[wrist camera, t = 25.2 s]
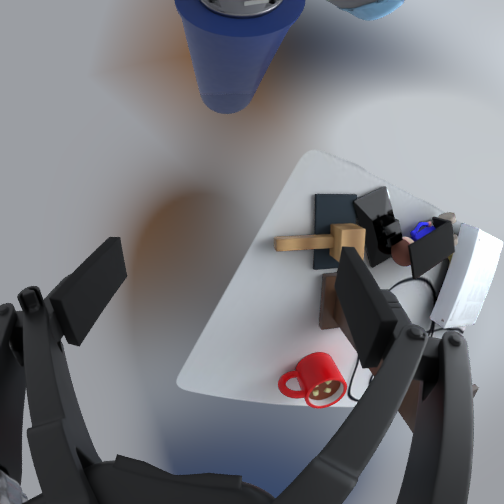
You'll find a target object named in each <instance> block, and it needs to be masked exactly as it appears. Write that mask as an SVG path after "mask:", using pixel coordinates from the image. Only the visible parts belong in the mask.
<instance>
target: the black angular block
mask: <svg viewBox="0 0 504 504" xmlns="http://www.w3.org/2000/svg"><path fill="white" fill-rule="evenodd" d="M353 206H354V209H355V212H356V215H357V219H358V222H359V225H360V227H362V228H364V229H366V231H365V247H366V250H367V254H368V258H369V262H370V266H371V267H372V268H373V267H375V266H376V265H378V264H380V263H382V262H383V261H385V260H387V259H388V258H390V257H392V255H391V248H392V246H393V245H395V244H397V243H398V242H400V241H402V240H403V238H402V234H401V229H400V224H399V220H397V219H395V217H394V214H393V210H392V206H391V203H390V197H389V193H388V190H387V188H386V187H385V186H384V187H382V188H380V189H377V190H375V191H373V192H371V193H369V194H367V195H365V196H363V197H360V198H358V199H356V200H354V201H353Z"/></svg>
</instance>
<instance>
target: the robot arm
mask: <svg viewBox="0 0 504 504" xmlns="http://www.w3.org/2000/svg"><path fill="white" fill-rule="evenodd" d="M282 1H283V0H199V2H200V3H201V4H202V5H203V6H204V7H205V8H206V9H207V10H209V11H210V12H212V13H214V14H217V15H219V16H222V17H226V18H232V19H252V18H258V17H261V16H264V15H267V14H269V13H271V12H273V11H274V10H275V9H277V8H278V7H279V6H280V4H281V3H282ZM327 1H328V2H330V3H332V4H334V5H336V6H337V7H338V8H339V9H341V10H344V11H347V12H349V13H351V14H352V15H354V16H356V17H358V18H360V19H363V20H376V19H379V18H382V17H384V16H386V15H388V14H390V13H391V12H392V11H394V10H396V9H397V8H399V7H400V6H401V5H402V4H403V2H404V0H327ZM126 277H127V273H126V268H125V262H124V257H123V252H122V247H121V240H120V237H109V238H108V239H107V240H106V241H105V242H104V243H103V244H102V245H101V246H99V247H98V248H97V249H96V251H94V252H93V253H92V254H91V255H90V256H89V257H88V258H87V259H86V260H85V261H84V262H83V263H82V264H81V265H80V266H79V267H78V268H77V269H76V270H75V271H74V272H73V273H72V274H70V275H68V276H67V277H65V278H64V279H63V280H62V281H61V282H60V283H59V285H57V286H56V287H55V289H53V290H52V291H51V292H50V293H49V294H48V296H47V297H46V298H45V299H44V300H43V297H42V295H41V292H40V289H39V288H38V287H37V286H31V287H27V288H25V289H24V290H22V291H21V292H20V293H19V294H18V296H17V298H18V301H19V303H20V305H21V308H22V310H23V311H15V308H14V306H13V304H11V303H6V304H2V305H1V306H0V504H342V503H343V502H344V500H345V499H346V498H347V496H348V495H349V494H350V492H351V491H352V490H353V488H354V487H355V485H356V483H357V481H358V477H359V476H360V474H361V473H362V471H363V470H364V468H365V467H366V465H367V464H368V462H369V460H370V459H371V457H372V456H373V454H374V452H375V451H376V449H377V447H378V446H379V444H380V442H381V441H382V439H383V437H384V435H385V433H386V432H387V430H388V428H389V427H390V425H391V423H392V421H393V419H394V417H395V415H396V413H397V411H398V409H399V407H400V405H401V403H402V401H403V399H404V397H405V395H406V393H407V390H408V388H409V386H410V384H411V382H412V380H418V381H420V385H419V395H418V404H417V412H416V419H415V426H414V432H413V437H412V443H411V448H410V453H409V458H408V462H407V466H406V470H405V475H404V479H403V482H402V486H401V489H400V493H399V496H398V499H397V503H396V504H467V499H468V494H469V487H470V479H471V469H472V457H473V439H474V437H473V436H474V411H473V390H472V378H471V368H470V360H469V352H468V345H467V341H466V339H465V338H464V337H463V336H462V335H461V334H460V333H458V332H455V331H447V332H445V333H444V335H443V337H442V339H439V338H433V337H428V334H427V332H426V331H425V330H424V329H423V328H421V327H420V326H418V325H414V324H412V323H411V321H410V319H409V318H408V316H407V314H406V313H405V311H404V309H403V308H402V306H401V304H400V303H399V301H398V299H397V298H396V296H395V295H394V294H393V293H391V292H390V291H389V290H384V289H380V288H379V286H378V284H377V283H376V281H375V279H374V278H373V276H372V274H371V273H370V271H369V269H368V268H367V266H366V265H365V263H364V261H363V260H362V258H361V257H360V255H359V253H358V252H357V250H356V249H355V247H346V246H342V249H341V255H340V260H339V265H338V270H337V275H336V280H335V285H334V288H335V291H336V293H337V296H338V299H339V301H340V304H341V307H342V310H343V312H344V315H345V318H346V321H347V324H348V327H349V329H350V332H351V335H352V338H353V341H354V344H355V347H356V350H357V353H358V356H359V359H360V362H361V366H362V368H374V367H378V365H379V363H380V361H381V359H383V363H382V365H381V367H380V368H379V370H378V372H377V373H376V375H375V377H374V378H373V380H372V381H371V383H370V385H369V386H368V388H367V389H366V391H365V392H364V394H363V395H362V397H361V398H360V400H359V401H358V403H357V404H356V406H355V407H354V409H353V410H352V412H351V413H350V414H349V416H348V417H347V419H346V420H345V421H344V423H343V424H342V425H341V427H340V428H339V429H338V431H337V432H336V434H335V435H334V436H333V437H332V438H331V440H330V441H329V442H328V444H327V445H326V446H325V447H324V448H323V450H322V451H321V452H320V453H319V454H318V455H317V456H316V457H315V458H314V459H313V460H312V461H311V462H310V463H309V464H308V465H307V467H306V468H305V469H304V470H303V471H302V472H301V473H300V474H299V475H298V476H297V477H296V479H295V480H294V481H293V482H292V483H291V484H290V485H289V486H288V487H287V488H286V489H285V490H284V491H283V492H282V493H281V494H280V495H279V496H278V497H277V498H274V497H273V496H272V495H271V494H269V493H268V492H266V491H265V490H263V489H261V488H259V487H257V486H254V485H252V484H249V483H246V482H242V476H239V475H224V474H214V473H203V474H192V475H191V474H190V475H173V474H170V473H168V472H166V471H163V470H161V469H159V468H157V467H155V466H153V465H151V464H148V463H146V462H144V461H140V460H136V459H132V458H128V457H125V456H121V455H118V454H117V457H116V460H115V461H104V462H102V460H101V459H100V457H99V456H98V454H97V452H96V450H95V448H94V446H93V443H92V441H91V438H90V436H89V433H88V430H87V428H86V425H85V422H84V419H83V416H82V414H81V411H80V408H79V404H78V401H77V398H76V395H75V392H74V388H73V384H72V381H71V377H70V373H69V369H68V366H67V361H66V357H65V352H64V348H63V344H62V342H61V338H62V337H63V335H64V336H65V338H66V340H67V342H68V344H72V345H76V346H80V345H81V343H82V342H83V340H84V338H85V337H86V336H87V334H88V332H89V331H90V329H91V328H92V326H93V325H94V323H95V322H96V320H97V319H98V317H99V316H100V314H101V313H102V311H103V310H104V308H105V307H106V305H107V304H108V303H109V301H110V300H111V298H112V297H113V295H114V294H115V293H116V291H117V290H118V288H119V287H120V285H121V284H122V283H123V281H124V280H125V278H126ZM26 389H27V397H28V404H29V410H30V416H31V422H32V428H28V429H27V438H28V442H29V447H30V451H31V456H32V459H33V463H34V467H35V470H36V474H37V477H38V480H39V483H40V487H41V490H42V493H41V494H40V495H38V496H36V497H34V498H32V499H30V500H28V499H27V496H26V494H24V493H23V492H22V489H21V487H20V485H21V476H22V425H23V409H24V400H25V390H26Z"/></svg>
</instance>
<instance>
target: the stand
mask: <svg viewBox="0 0 504 504" xmlns="http://www.w3.org/2000/svg"><path fill="white" fill-rule="evenodd" d="M336 275H337V273H326V274H323V277H322V292H321V305H320V317H319V327H320V328H321V330H324V329H331V328H338V327H339V328H340V329H341V330H342V332H343V333H344V334H345V336H346V337H347V339H348V340H349V341H350V343H351V344H352V346H353V347H354V348H355V350H356V347H355V344H354V341H353V338H352V335H351V332H350V329H349V327H348V324H347V321H346V318H345V315H344V312H343V310H342V307H341V304H340V301H339V299H338V296H337V293H336V291H335V288H334V285H335V280H336ZM356 351H357V350H356ZM382 363H383V359H381V361H380V363H379V365H378V367H374V368H369V370H370V371H371V372H372V374H373V375H374V377H375V375H376V373H377V372H378V370H379V368H380V367H381V365H382ZM419 385H420V381H418V380H412V382H411V384H410V386H409V388H408V390H407V393H406V395H405V397H404V399H403V401H402V403H401V405H400V407H399V409H398V411H399V413H400V414H401V416H402V417H403V419H404V420H405V422H406V423H407V425H408V426H409V428H410V429H411V431H412V432H414V426H415V419H416V412H417V404H418V395H419ZM472 390H473V398H474V396H475V394H476V392H477V390H478V387H477V386H476V385H475V384H474V385H472Z"/></svg>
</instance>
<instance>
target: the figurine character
mask: <svg viewBox="0 0 504 504" xmlns="http://www.w3.org/2000/svg"><path fill="white" fill-rule="evenodd" d="M455 222H456V217H455V214H454V213H451V212H449V213H443V214H441V215H439V217H432V220H431V221H428V222H419V223H418V225H417V226H416V228H415V229H414V231H413V230H412V231H411V232H410V235H411V236H412V237H410V238H408V237H402V238H403V240H402V241H400V242H398V243H397V244H395V245H393V246H392V248H391V255H392V258H393V260H394V261H395V262H396V263H397V264H398V265H400V266H409V265H411V269H412V277H413V279H416V278H418V277H420V276H421V275H423V274H424V273H426V272H427V271H428V270H430V269H431V268H433V267H434V266H436V265H437V264H439V263H440V262H441V261H443V260H444V259H446V258H447V257H449V256H450V255H451V254H453V253H454V252H455V246H456V245H457V244H458V237H457V235H456V234H453V227H452V224H454V223H455ZM432 223H433V226H432ZM421 226H426V227H425V228H424V229H422V230H421V231H419V232H418V230H419V229H420V227H421ZM417 232H418V233H417Z"/></svg>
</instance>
